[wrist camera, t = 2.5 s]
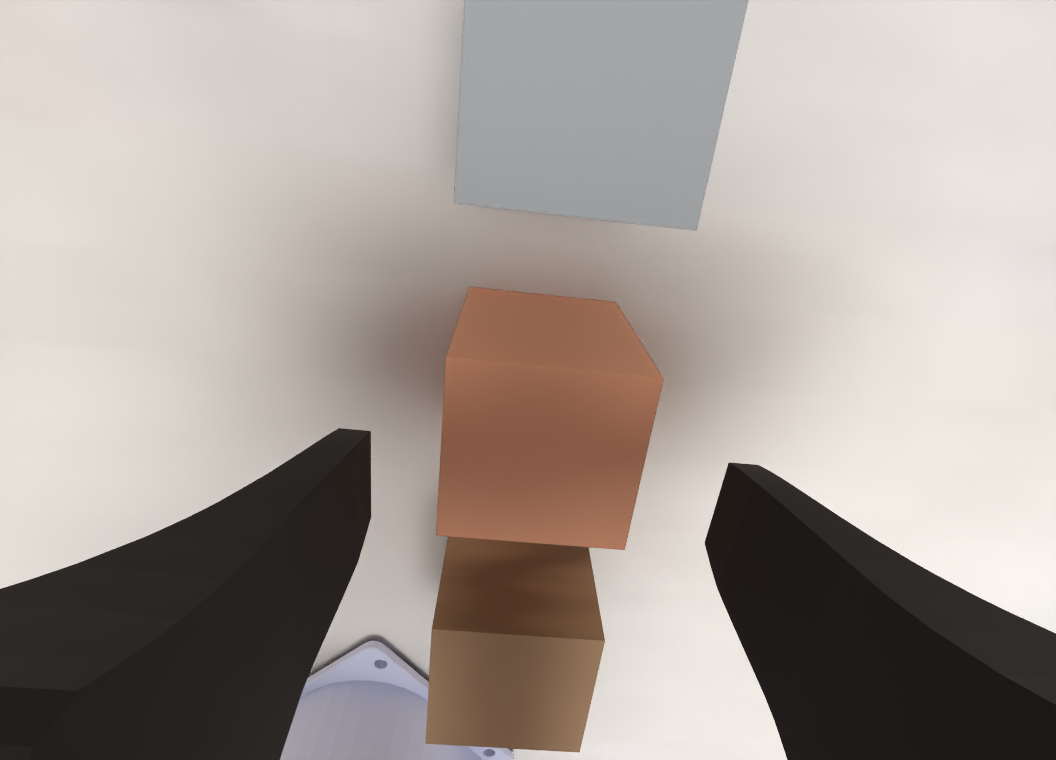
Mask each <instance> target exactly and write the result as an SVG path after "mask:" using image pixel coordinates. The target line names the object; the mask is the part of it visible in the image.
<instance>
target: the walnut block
mask: <svg viewBox="0 0 1056 760" xmlns="http://www.w3.org/2000/svg"><path fill="white" fill-rule="evenodd" d="M604 642H605V639H604V633H603V628H602V622H601V616H600V611H599V605H598V599H597V594H596V588H595V582H594V576H593V571H592V565H591V559H590V554H589V548H588V547H580V546H567V545H554V544H541V543H528V542H515V541H502V540H490V539H477V538H464V537H451V536H448V541H447V547H446V552H445V558H444V564H443V569H442V575H441V581H440V586H439V592H438V597H437V603H436V609H435V614H434V620H433V626H432V635H431V653H430V671H429V688H428V706H427V724H426V742H425V744H438V745H456V746H474V747H492V748H511V749H529V750H547V751H565V752H580V748H581V743H582V739H583V734H584V730H585V726H586V721H587V717H588V713H589V708H590V704H591V699H592V695H593V691H594V686H595V682H596V677H597V673H598V669H599V664H600V660H601V655H602V651H603V647H604Z"/></svg>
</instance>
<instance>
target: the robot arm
mask: <svg viewBox="0 0 1056 760" xmlns="http://www.w3.org/2000/svg"><path fill="white" fill-rule="evenodd" d="M370 518H371V431H363V430H352V429H340V428H339V429H337V430H335V431H334V432H332V433H330V434H329V435H327V436H326V437H324V438H322V439H321V440H319V441H318V442H316V443H315V444H313V445H312V446H310V447H309V448H307V449H306V450H304V451H303V452H301V453H300V454H298V455H296V456H295V457H293V458H292V459H290V460H289V461H287V462H285V463H284V464H282V465H281V466H279V467H278V468H276V469H274V470H273V471H271V472H270V473H268V474H266V475H265V476H263V477H261V478H260V479H258V480H256V481H254V482H253V483H251V484H249V485H247V486H246V487H244V488H242V489H240V490H239V491H237V492H235V493H233V494H232V495H230V496H228V497H226V498H225V499H223V500H221V501H219V502H217V503H216V504H214V505H212V506H210V507H208V508H206V509H204V510H202V511H200V512H198V513H196V514H194V515H192V516H190V517H188V518H186V519H184V520H181V521H179V522H177V523H175V524H173V525H171V526H168V527H166V528H164V529H162V530H160V531H158V532H155V533H153V534H151V535H148V536H146V537H144V538H141V539H139V540H136V541H134V542H131V543H128V544H126V545H123V546H121V547H118V548H116V549H113V550H111V551H108V552H106V553H103V554H100V555H98V556H95V557H93V558H90V559H88V560H85V561H83V562H80V563H77V564H75V565H72V566H69V567H66V568H63V569H60V570H57V571H54V572H51V573H48V574H46V575H43V576H40V577H37V578H34V579H31V580H28V581H24V582H21V583H18V584H15V585H12V586H8V587H5V588H2V589H0V760H514V754H513V753H512V751H510V750H509V749H508V748H492V747H474V746H456V745H438V744H425V742H426V724H427V706H428V688H429V682H428V681H427V680H426V679H424V678H423V677H422V676H421V675H420V674H418V673H417V672H416V671H415V670H414V669H413V668H411V667H410V666H409V665H408V664H407V663H405V662H404V661H403V660H402V659H401V658H399V657H398V656H397V655H396V654H395V653H393V652H392V651H391V650H390V649H389V648H387V647H386V646H385V645H384V644H383V643H381V642H379V641H368V642H366V643H364V644H362V645H361V646H359V647H358V648H356V649H354V650H353V651H351V652H349V653H348V654H346V655H344V656H343V657H341V658H339V659H338V660H336V661H334V662H333V663H331V664H330V665H328V666H326V667H325V668H323V669H321V670H320V671H318V672H316V673H315V674H313V675H311V676H310V677H308V676H309V673H310V671H311V668H312V666H313V663H314V661H315V659H316V657H317V654H318V652H319V650H320V648H321V645H322V643H323V641H324V639H325V636H326V634H327V632H328V629H329V627H330V625H331V623H332V620H333V618H334V616H335V614H336V611H337V609H338V607H339V604H340V602H341V600H342V598H343V595H344V593H345V591H346V588H347V586H348V584H349V582H350V579H351V577H352V575H353V572H354V570H355V568H356V565H357V563H358V560H359V557H360V553H361V550H362V547H363V543H364V540H365V536H366V533H367V529H368V526H369V522H370ZM705 546H706V550H707V553H708V557H709V561H710V565H711V569H712V572H713V575H714V579H715V582H716V585H717V588H718V591H719V593H720V596H721V598H722V600H723V603H724V605H725V607H726V610H727V612H728V614H729V616H730V619H731V621H732V623H733V626H734V628H735V630H736V632H737V635H738V637H739V639H740V641H741V644H742V646H743V648H744V650H745V653H746V655H747V657H748V659H749V662H750V664H751V666H752V668H753V671H754V673H755V675H756V677H757V680H758V682H759V684H760V686H761V689H762V691H763V693H764V695H765V698H766V700H767V703H768V705H769V708H770V710H771V713H772V715H773V718H774V720H775V723H776V726H777V729H778V732H779V735H780V738H781V741H782V744H783V747H784V750H785V753H786V756H787V759H788V760H1056V634H1055V633H1053V632H1051V631H1049V630H1047V629H1045V628H1042V627H1040V626H1038V625H1036V624H1034V623H1031V622H1029V621H1027V620H1025V619H1023V618H1020V617H1018V616H1016V615H1014V614H1012V613H1010V612H1007V611H1005V610H1003V609H1001V608H999V607H997V606H995V605H993V604H991V603H989V602H987V601H985V600H983V599H981V598H979V597H977V596H975V595H973V594H971V593H969V592H967V591H965V590H964V589H962V588H960V587H958V586H956V585H954V584H952V583H950V582H948V581H946V580H945V579H943V578H941V577H939V576H937V575H935V574H933V573H931V572H930V571H928V570H926V569H924V568H923V567H921V566H919V565H917V564H915V563H914V562H912V561H910V560H909V559H907V558H905V557H904V556H902V555H900V554H899V553H897V552H895V551H894V550H892V549H890V548H889V547H887V546H885V545H884V544H882V543H880V542H879V541H877V540H875V539H874V538H872V537H871V536H869V535H867V534H866V533H864V532H863V531H861V530H860V529H858V528H856V527H855V526H853V525H852V524H850V523H849V522H847V521H846V520H844V519H843V518H841V517H840V516H838V515H837V514H835V513H833V512H832V511H830V510H829V509H827V508H826V507H824V506H823V505H821V504H820V503H818V502H817V501H815V500H814V499H812V498H811V497H809V496H808V495H806V494H805V493H803V492H802V491H800V490H799V489H797V488H796V487H794V486H793V485H791V484H790V483H788V482H786V481H785V480H783V479H782V478H780V477H779V476H777V475H775V474H774V473H772V472H770V471H768V470H767V469H765V468H763V467H761V466H759V465H751V464H739V463H729V464H728V467H727V470H726V474H725V477H724V480H723V484H722V487H721V490H720V494H719V497H718V500H717V504H716V507H715V510H714V514H713V517H712V520H711V524H710V527H709V530H708V534H707V537H706V540H705Z"/></svg>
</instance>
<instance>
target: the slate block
mask: <svg viewBox="0 0 1056 760" xmlns="http://www.w3.org/2000/svg"><path fill="white" fill-rule="evenodd" d="M747 4H748V0H465V6H464V24H463V43H462V61H461V80H460V99H459V117H458V136H457V155H456V173H455V192H454V204H463V205H472V206H481V207H490V208H498V209H507V210H516V211H525V212H534V213H543V214H552V215H561V216H570V217H579V218H588V219H597V220H605V221H614V222H623V223H632V224H641V225H650V226H659V227H668V228H677V229H686V230H695V231H696V230H697V226H698V221H699V217H700V212H701V208H702V204H703V199H704V195H705V190H706V186H707V181H708V177H709V173H710V168H711V164H712V159H713V155H714V150H715V146H716V142H717V137H718V133H719V128H720V124H721V120H722V115H723V111H724V106H725V102H726V97H727V93H728V89H729V84H730V80H731V75H732V71H733V66H734V62H735V58H736V53H737V49H738V44H739V40H740V35H741V31H742V27H743V22H744V18H745V13H746V9H747Z"/></svg>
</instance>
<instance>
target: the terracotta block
mask: <svg viewBox="0 0 1056 760" xmlns="http://www.w3.org/2000/svg"><path fill="white" fill-rule="evenodd" d="M663 379H664V378H663V376H662V375H661V373H660V372H659V370H658V368H657V367H656V365H655V364H654V362H653V360H652V359H651V357H650V356H649V354H648V352H647V351H646V349H645V348H644V346H643V344H642V343H641V341H640V340H639V338H638V337H637V335H636V333H635V332H634V330H633V329H632V327H631V325H630V324H629V322H628V321H627V319H626V317H625V316H624V314H623V313H622V311H621V309H620V308H619V306H618V305H617V303H616V302H610V301H600V300H591V299H581V298H572V297H562V296H553V295H543V294H534V293H524V292H514V291H505V290H495V289H486V288H476V287H470V288H469V291H468V293H467V296H466V299H465V302H464V305H463V308H462V311H461V314H460V317H459V320H458V323H457V326H456V329H455V332H454V335H453V338H452V341H451V344H450V347H449V350H448V353H447V356H446V366H445V384H444V402H443V420H442V438H441V456H440V474H439V492H438V510H437V528H436V535H438V536H451V537H464V538H477V539H490V540H502V541H515V542H528V543H541V544H554V545H567V546H580V547H593V548H606V549H619V550H625V546H626V542H627V537H628V533H629V528H630V524H631V519H632V515H633V511H634V506H635V502H636V497H637V493H638V489H639V484H640V480H641V475H642V471H643V467H644V462H645V458H646V453H647V449H648V445H649V440H650V436H651V431H652V427H653V423H654V418H655V414H656V409H657V405H658V401H659V396H660V392H661V387H662V383H663Z"/></svg>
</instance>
